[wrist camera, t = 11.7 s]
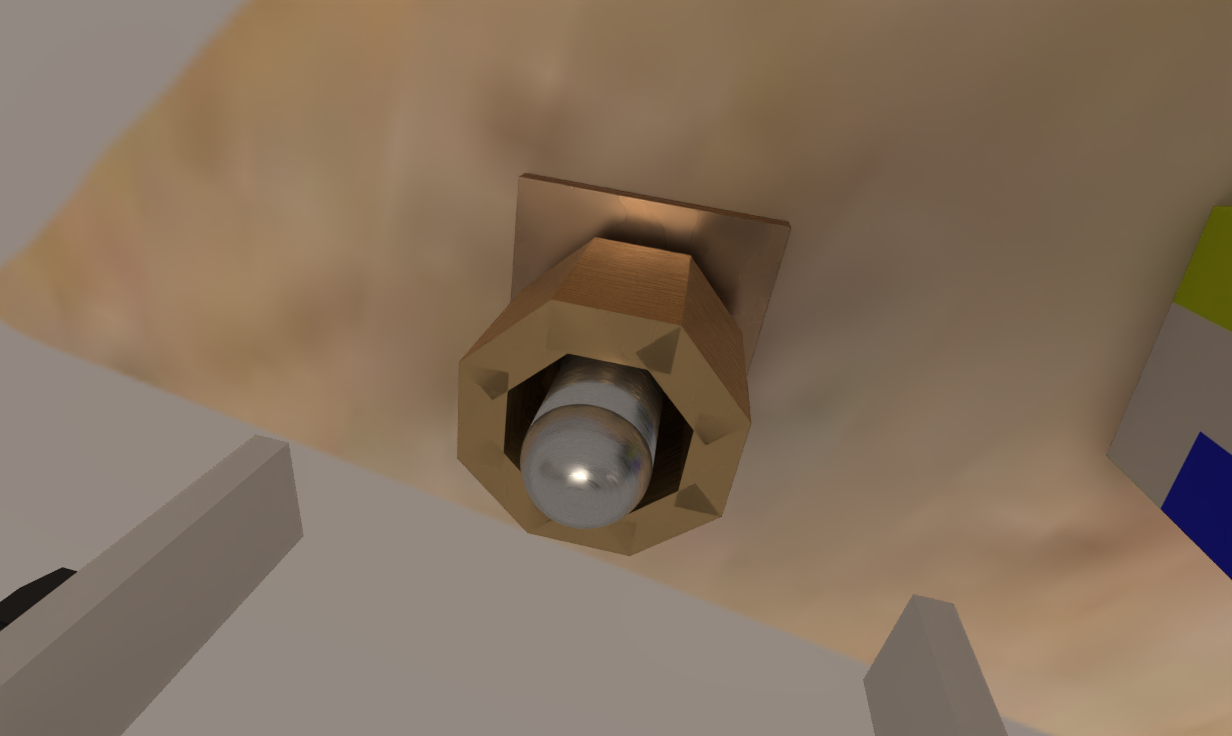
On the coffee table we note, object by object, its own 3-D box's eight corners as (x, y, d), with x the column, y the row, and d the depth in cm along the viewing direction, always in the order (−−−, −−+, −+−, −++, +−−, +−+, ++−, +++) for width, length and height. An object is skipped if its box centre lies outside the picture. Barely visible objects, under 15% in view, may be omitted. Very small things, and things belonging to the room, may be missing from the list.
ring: (528, 224, 20) (460, 281, 15) (759, 268, 19) (775, 344, 14) (514, 416, 24) (456, 516, 18) (706, 457, 23) (704, 572, 18)
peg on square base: (525, 172, 22) (359, 265, 12) (788, 222, 21) (855, 364, 11) (509, 395, 27) (382, 598, 16) (724, 441, 26) (729, 680, 16)
